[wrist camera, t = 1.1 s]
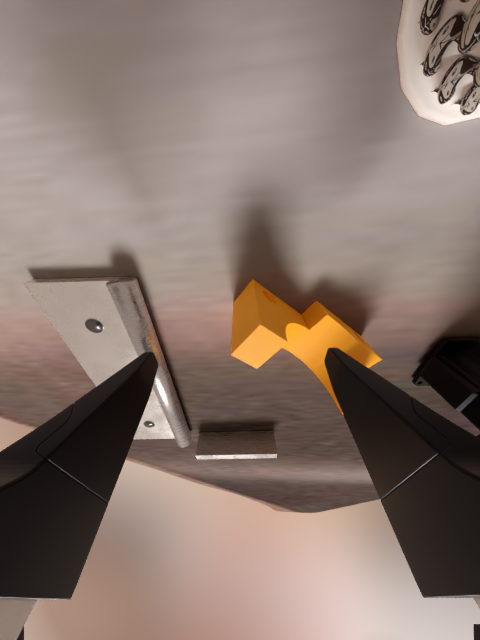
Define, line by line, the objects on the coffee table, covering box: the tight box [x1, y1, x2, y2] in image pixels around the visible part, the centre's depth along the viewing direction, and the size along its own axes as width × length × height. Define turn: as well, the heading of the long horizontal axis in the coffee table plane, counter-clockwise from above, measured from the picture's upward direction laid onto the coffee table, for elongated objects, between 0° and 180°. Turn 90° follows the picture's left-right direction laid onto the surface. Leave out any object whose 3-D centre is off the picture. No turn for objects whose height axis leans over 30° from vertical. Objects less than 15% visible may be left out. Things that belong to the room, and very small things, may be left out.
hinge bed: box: [24, 277, 277, 459], centre depth 20 cm, size 20×25×3 cm
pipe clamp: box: [231, 279, 382, 414], centre depth 14 cm, size 12×4×6 cm, turn 53°
